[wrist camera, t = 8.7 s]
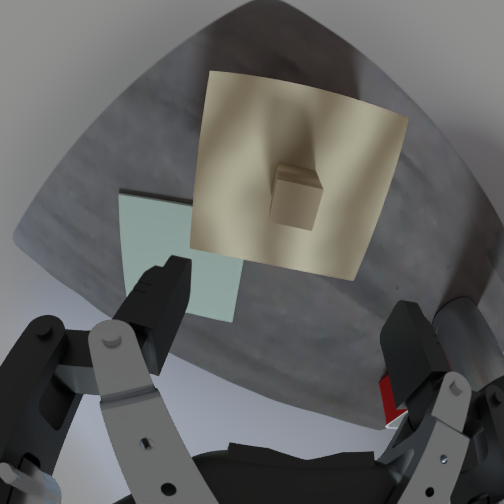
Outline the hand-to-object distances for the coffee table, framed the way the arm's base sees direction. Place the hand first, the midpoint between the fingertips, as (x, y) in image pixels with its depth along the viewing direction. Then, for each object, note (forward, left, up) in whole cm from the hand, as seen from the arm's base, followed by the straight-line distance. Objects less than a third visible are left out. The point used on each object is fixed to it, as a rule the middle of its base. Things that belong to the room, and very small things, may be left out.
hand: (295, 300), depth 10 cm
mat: (+12, +17, -24) cm, 32 cm away
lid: (0, 0, -15) cm, 15 cm away
